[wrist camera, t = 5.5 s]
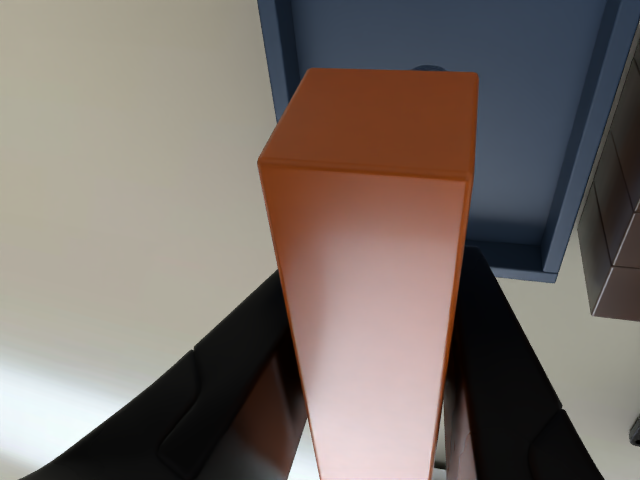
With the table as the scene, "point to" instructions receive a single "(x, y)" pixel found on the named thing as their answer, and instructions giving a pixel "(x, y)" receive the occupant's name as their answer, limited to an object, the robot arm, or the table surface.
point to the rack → (616, 213)
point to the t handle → (372, 256)
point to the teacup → (439, 474)
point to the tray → (485, 96)
